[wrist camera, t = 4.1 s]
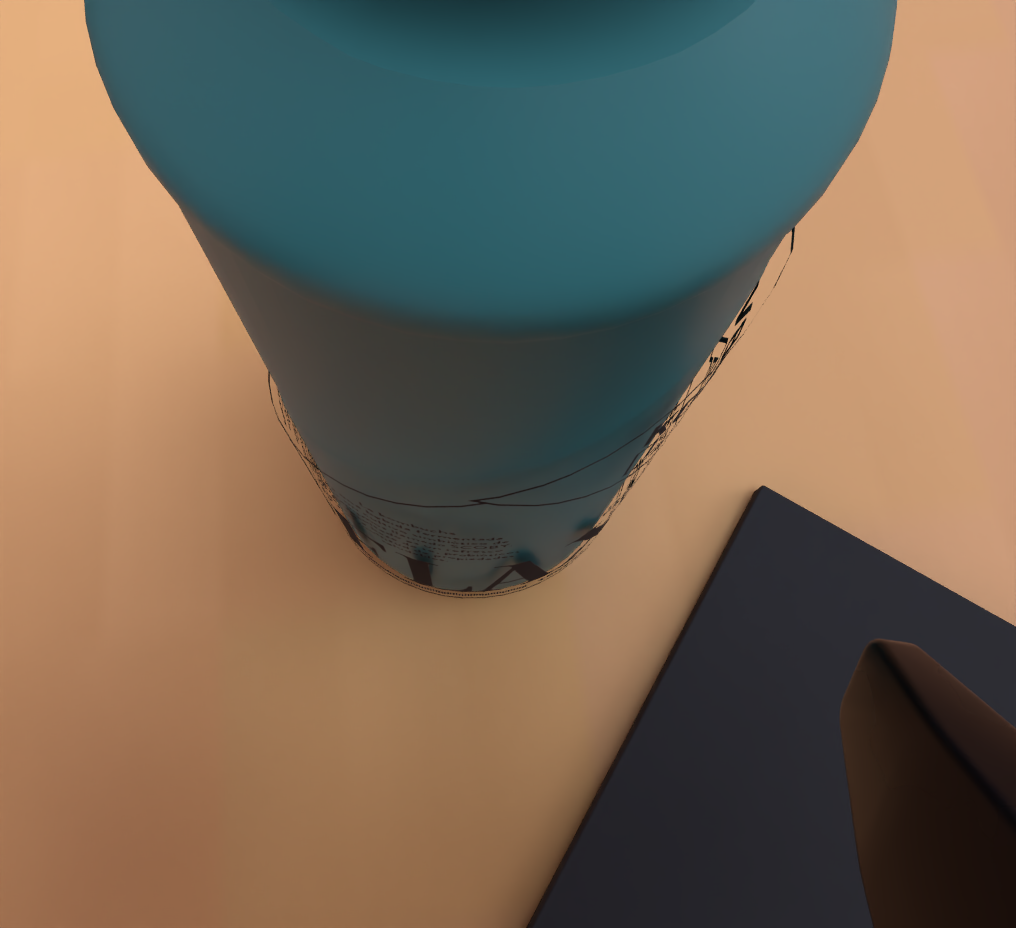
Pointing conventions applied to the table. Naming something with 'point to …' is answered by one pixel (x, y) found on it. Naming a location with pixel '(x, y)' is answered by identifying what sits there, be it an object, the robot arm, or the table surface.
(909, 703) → the robot arm
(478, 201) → the beverage bottle
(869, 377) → the table surface
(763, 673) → the mat
